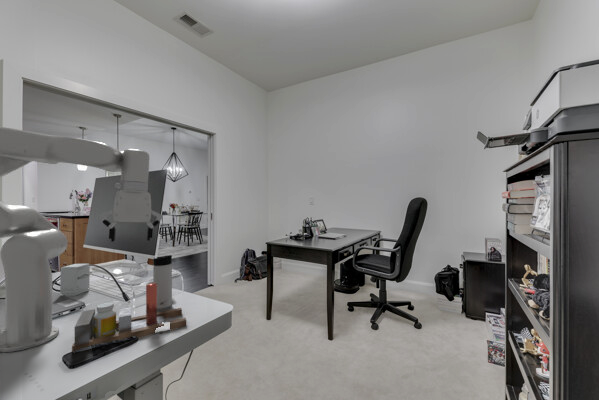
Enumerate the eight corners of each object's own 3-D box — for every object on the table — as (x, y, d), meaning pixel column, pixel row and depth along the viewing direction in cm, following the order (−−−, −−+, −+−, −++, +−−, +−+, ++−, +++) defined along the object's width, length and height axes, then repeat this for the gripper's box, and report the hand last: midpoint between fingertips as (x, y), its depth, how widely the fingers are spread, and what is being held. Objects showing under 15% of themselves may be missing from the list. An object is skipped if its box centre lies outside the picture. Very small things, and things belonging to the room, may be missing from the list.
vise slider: (118, 338, 75) (118, 292, 76) (120, 328, 82) (120, 286, 82) (164, 327, 82) (164, 285, 82) (162, 318, 88) (162, 280, 88)
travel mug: (165, 312, 94) (164, 257, 95) (149, 310, 96) (149, 256, 96) (176, 305, 101) (176, 254, 101) (161, 304, 102) (161, 253, 102)
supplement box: (76, 296, 113) (76, 267, 113) (59, 296, 113) (59, 267, 113) (90, 290, 120) (90, 263, 120) (74, 290, 120) (74, 263, 121)
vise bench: (72, 353, 68) (72, 327, 68) (80, 334, 78) (80, 311, 78) (186, 326, 83) (186, 304, 83) (181, 313, 93) (180, 293, 93)
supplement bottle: (88, 342, 74) (88, 308, 74) (101, 333, 79) (101, 301, 79) (108, 341, 74) (108, 307, 74) (120, 332, 80) (120, 301, 80)
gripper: (99, 185, 76) (95, 243, 76) (165, 189, 85) (162, 241, 85) (102, 186, 83) (99, 240, 82) (163, 190, 92) (160, 238, 91)
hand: (131, 240), depth 84 cm, fingers open, 9 cm apart
